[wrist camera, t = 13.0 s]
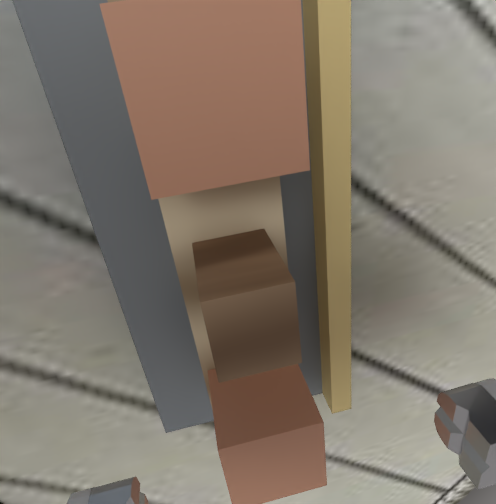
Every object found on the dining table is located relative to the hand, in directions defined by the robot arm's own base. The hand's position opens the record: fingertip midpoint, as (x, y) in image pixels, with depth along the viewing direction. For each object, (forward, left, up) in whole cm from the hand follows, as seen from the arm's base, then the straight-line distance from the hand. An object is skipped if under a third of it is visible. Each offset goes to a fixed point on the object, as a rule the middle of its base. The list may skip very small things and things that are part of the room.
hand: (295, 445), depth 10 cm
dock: (0, 0, -17) cm, 17 cm away
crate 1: (-8, 0, -10) cm, 13 cm away
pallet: (0, 0, -14) cm, 14 cm away
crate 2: (+9, 0, -10) cm, 13 cm away
